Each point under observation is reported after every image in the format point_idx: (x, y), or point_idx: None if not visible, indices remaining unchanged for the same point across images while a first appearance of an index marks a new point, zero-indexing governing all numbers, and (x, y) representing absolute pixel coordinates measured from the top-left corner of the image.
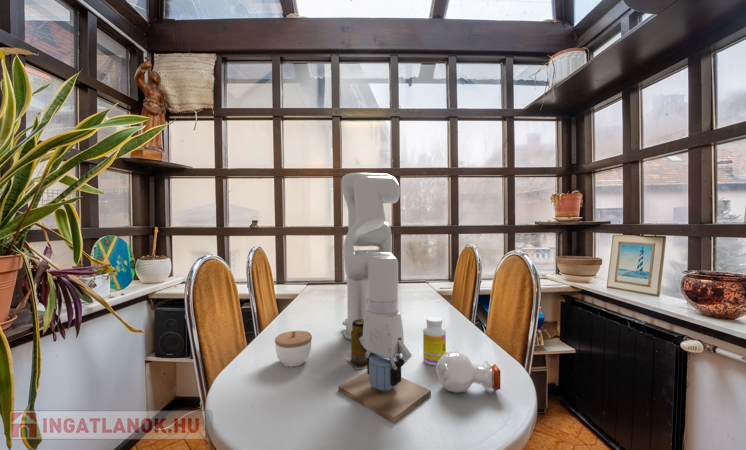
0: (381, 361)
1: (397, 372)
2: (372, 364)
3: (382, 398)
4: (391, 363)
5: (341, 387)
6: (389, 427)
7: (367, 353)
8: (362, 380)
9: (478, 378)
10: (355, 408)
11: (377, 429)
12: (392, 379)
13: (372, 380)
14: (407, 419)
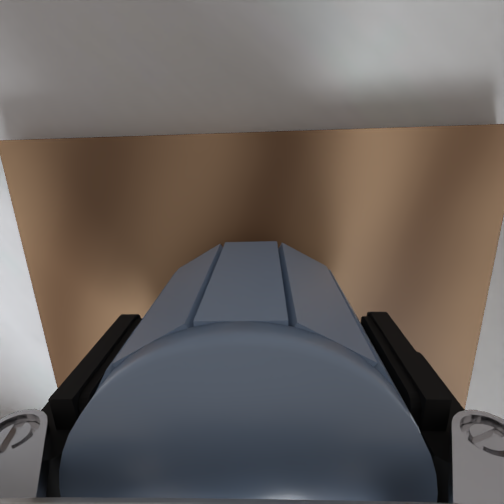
0: (180, 427)
1: (49, 408)
2: (266, 326)
3: (181, 231)
4: (32, 459)
5: (488, 127)
6: (7, 95)
7: (500, 467)
8: (421, 289)
9: None
10: (268, 73)
11: (30, 28)
12: (101, 338)
13: (265, 254)
14: (7, 215)
